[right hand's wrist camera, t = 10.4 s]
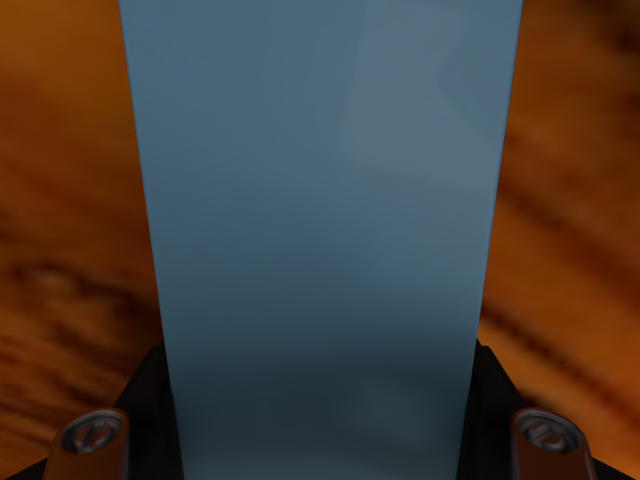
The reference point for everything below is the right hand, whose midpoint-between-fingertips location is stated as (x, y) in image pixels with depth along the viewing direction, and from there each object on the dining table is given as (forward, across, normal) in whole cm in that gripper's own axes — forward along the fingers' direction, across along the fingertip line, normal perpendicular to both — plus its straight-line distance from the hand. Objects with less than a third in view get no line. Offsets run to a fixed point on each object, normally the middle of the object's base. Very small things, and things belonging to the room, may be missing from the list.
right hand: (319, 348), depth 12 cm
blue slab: (+8, 0, -7) cm, 10 cm away
